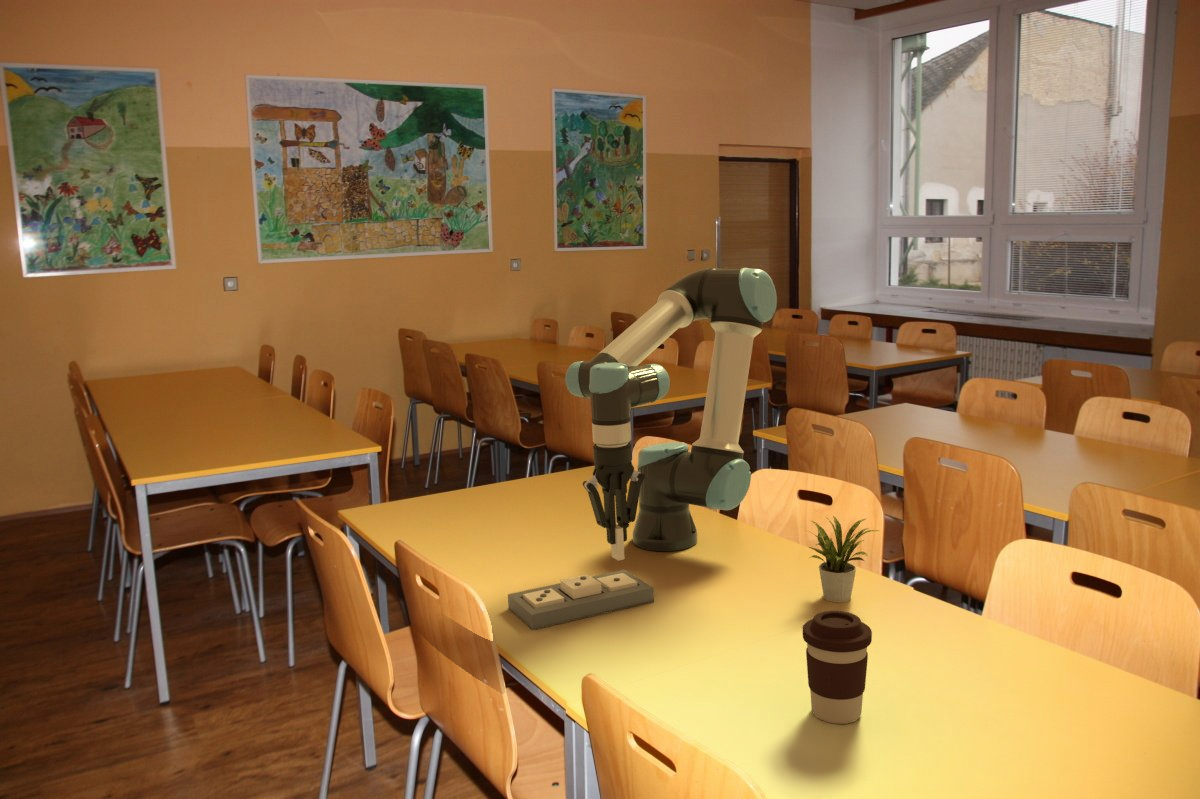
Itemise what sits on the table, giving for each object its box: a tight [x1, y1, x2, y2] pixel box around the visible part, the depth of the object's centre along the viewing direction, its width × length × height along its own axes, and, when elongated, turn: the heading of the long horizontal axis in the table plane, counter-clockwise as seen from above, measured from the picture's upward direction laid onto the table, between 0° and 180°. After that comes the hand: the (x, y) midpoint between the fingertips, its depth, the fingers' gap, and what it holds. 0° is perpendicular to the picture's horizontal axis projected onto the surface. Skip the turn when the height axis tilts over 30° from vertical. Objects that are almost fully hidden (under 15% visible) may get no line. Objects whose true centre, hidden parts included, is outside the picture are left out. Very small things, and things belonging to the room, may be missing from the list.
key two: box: [559, 574, 601, 599], centre depth 191 cm, size 6×6×2 cm
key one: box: [597, 573, 637, 592], centre depth 194 cm, size 6×6×2 cm
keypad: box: [507, 569, 655, 631], centre depth 191 cm, size 26×12×3 cm, turn 117°
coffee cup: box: [802, 609, 873, 725], centre depth 145 cm, size 10×10×15 cm
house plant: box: [806, 515, 879, 603], centre depth 189 cm, size 14×14×16 cm
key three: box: [523, 588, 564, 609], centre depth 187 cm, size 6×6×2 cm
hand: (618, 557), depth 194 cm, fingers closed
